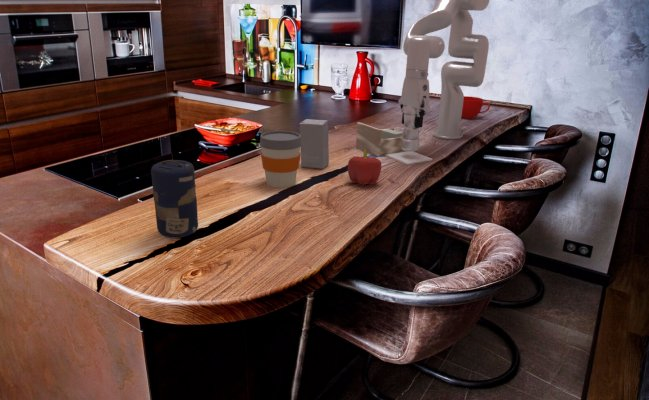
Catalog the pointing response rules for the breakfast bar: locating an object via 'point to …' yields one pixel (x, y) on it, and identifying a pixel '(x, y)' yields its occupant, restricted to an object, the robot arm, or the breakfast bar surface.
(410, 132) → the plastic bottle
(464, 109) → the ceramic cup
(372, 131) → the frame
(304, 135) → the skincare box
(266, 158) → the reusable coffee cup
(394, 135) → the offcut top
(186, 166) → the canister
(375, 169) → the vegetable
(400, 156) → the pad
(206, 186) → the breakfast bar surface
